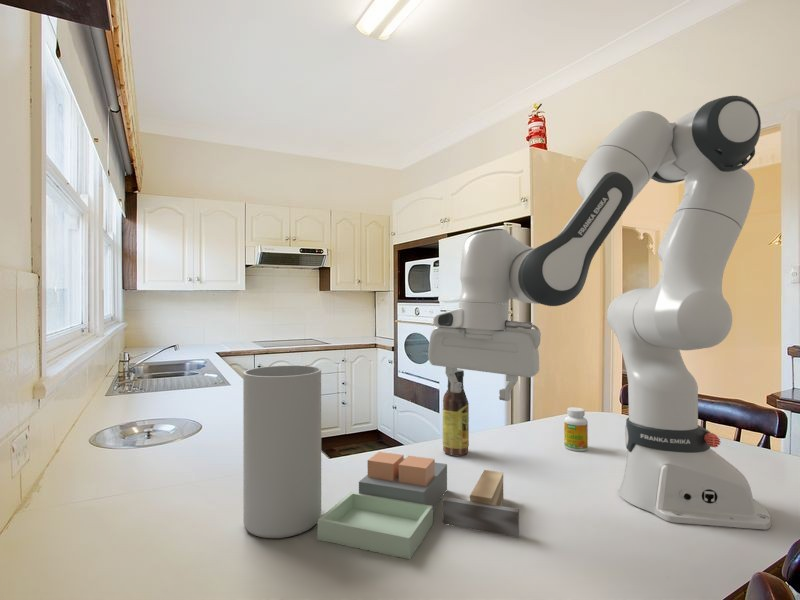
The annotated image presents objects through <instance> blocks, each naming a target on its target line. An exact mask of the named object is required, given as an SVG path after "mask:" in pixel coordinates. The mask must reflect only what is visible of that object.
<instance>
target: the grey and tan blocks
mask: <svg viewBox="0 0 800 600" xmlns="http://www.w3.org/2000/svg"><path fill="white" fill-rule="evenodd" d="M503 501H504V472H502V471H495V470H489V469H483V472H482V473H481V475H480V477H479V479H478V480H477V482H476V484H475V486H474V488H473V490H472V491H471V493H470V495H469V500H465V499H459V498H453V497H446V496H444V498H443V499H442V524H443V523H444V524H443V525H446V524H449V525H448V526H452V525H453V527H457V526H458V528H463V529H469V530H474V531H480V532H486V533H490V534H495V535H496V534H497V535H503V536H507V537H512V538H519V534H520V509H519V508H515V507H509V506H502V504H503Z"/></svg>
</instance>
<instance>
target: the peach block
mask: <svg viewBox="0 0 800 600" xmlns="http://www.w3.org/2000/svg"><path fill="white" fill-rule="evenodd" d="M435 460H436V459H435V458H429V457H424V456H414V455H408V456H406V457H405V459H404V460H403V461H402V462H401V463H400V464H399V482H403V483H409V484H416V485H422V486H426V485H427V484H428V483H429V482H430V481H431V479H432V478H433V477H434V476H435V463H436V461H435Z"/></svg>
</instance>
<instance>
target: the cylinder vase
mask: <svg viewBox="0 0 800 600" xmlns="http://www.w3.org/2000/svg"><path fill="white" fill-rule="evenodd" d="M242 382H243V387H242V389H243V395H242V396H243V397H242V398H243V403H242V404H243V405H242V408H243V409H242V411H243V414H242V415H243V416H242V417H243V426H242V429H243V433H242V434H243V437H242V438H243V439H242V441H243V446H242V447H243V448H242V449H243V453H242V454H243V456H242V457H243V458H242V459H243V462H242V463H243V466H242V467H243V469H242V471H243V473H242V474H243V485H242V486H243V496H242V497H243V500H242V501H243V508H242V509H243V514H242V515H243V518H242V519H243V525H244V528H245V529H246V531H247V532H248V533H250V534H251V535H253V536H257V537H259V538H263V539H282V538H289V537H294V536H297V535H300V534H302V533H305V532H308V531H309V530H311V529H312V528H313V527H315V525H316V524H318V519H319V518H320V517H322V368H320V367H317V366H311V365H272V366H261V367H255V368H250V369H246V370H244V371H243V381H242Z"/></svg>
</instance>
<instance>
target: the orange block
mask: <svg viewBox="0 0 800 600" xmlns="http://www.w3.org/2000/svg"><path fill="white" fill-rule="evenodd" d="M403 460H404V454H397V453H391V452H383V451H378V452H377V453H375V454H374V455H373V456H371V457H370V458H369V459H368V460H367V475H368V477H370V478H377V479H383V480H390V481H394V480H395V479H396V478H397V477H398V476H399V464H400V463H401V462H402V461H403Z"/></svg>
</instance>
